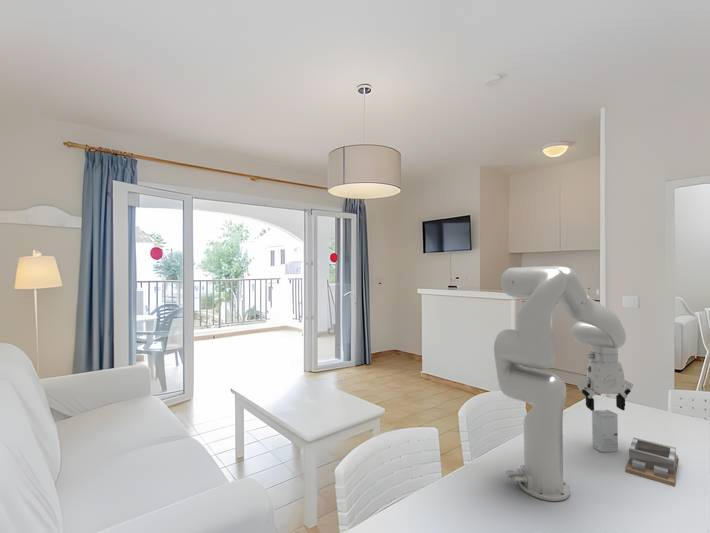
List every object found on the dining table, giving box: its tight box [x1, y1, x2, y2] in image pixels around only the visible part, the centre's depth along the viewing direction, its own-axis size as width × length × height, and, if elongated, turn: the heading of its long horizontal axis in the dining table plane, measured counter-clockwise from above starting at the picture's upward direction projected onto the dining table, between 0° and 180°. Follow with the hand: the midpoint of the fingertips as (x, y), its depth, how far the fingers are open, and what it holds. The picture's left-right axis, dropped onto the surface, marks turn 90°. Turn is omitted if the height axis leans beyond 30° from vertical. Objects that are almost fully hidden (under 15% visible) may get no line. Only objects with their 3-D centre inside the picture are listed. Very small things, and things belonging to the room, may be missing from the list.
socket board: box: [624, 437, 679, 487], centre depth 114 cm, size 20×11×5 cm, turn 137°
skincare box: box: [591, 409, 619, 453], centre depth 124 cm, size 6×4×12 cm
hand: (605, 408), depth 125 cm, fingers open, 9 cm apart
